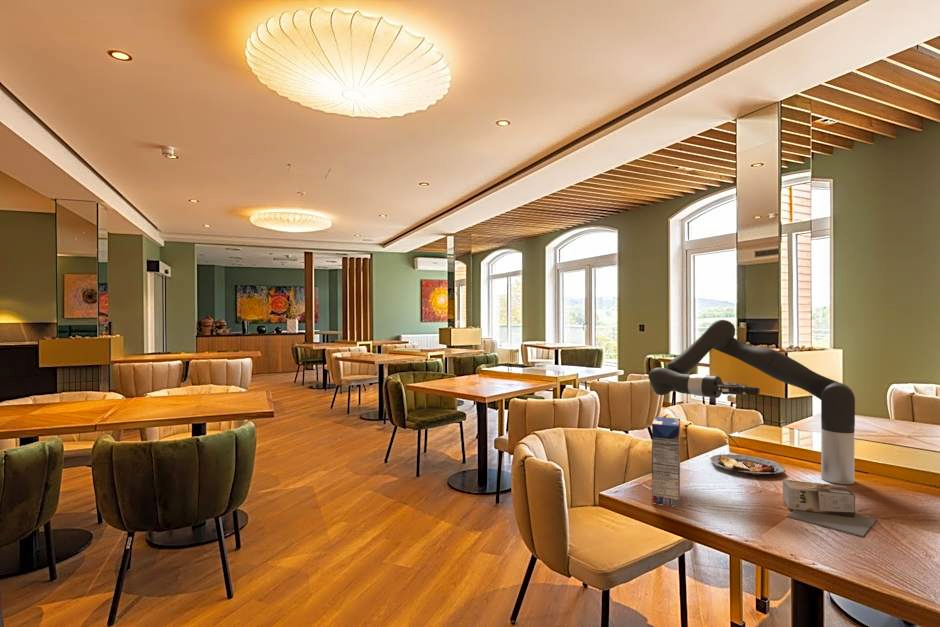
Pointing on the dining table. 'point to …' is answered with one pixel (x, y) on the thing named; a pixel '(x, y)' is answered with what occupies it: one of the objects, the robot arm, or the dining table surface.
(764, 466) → the food plate
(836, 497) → the coffee box
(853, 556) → the dining table surface
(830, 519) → the rubber mat
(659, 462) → the juice carton
